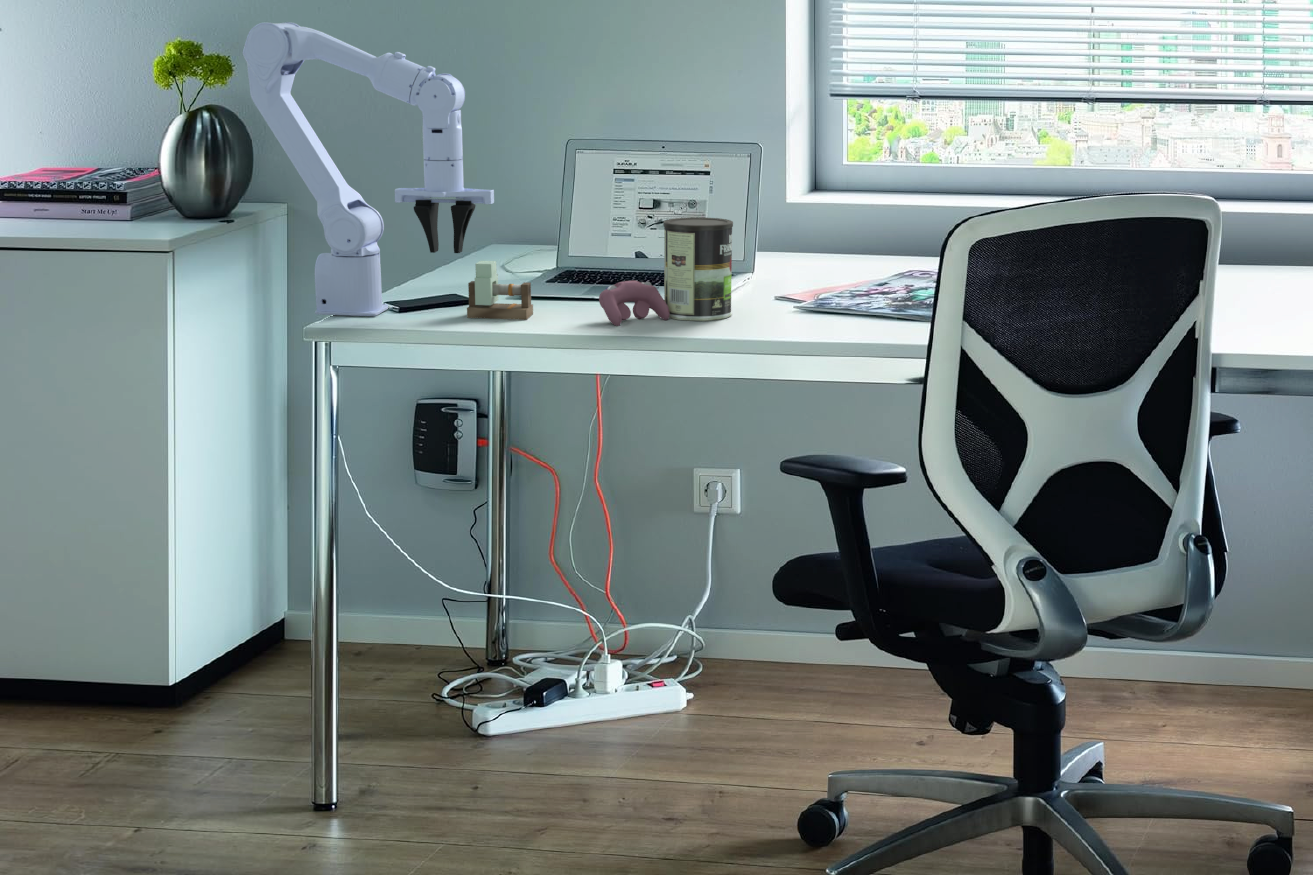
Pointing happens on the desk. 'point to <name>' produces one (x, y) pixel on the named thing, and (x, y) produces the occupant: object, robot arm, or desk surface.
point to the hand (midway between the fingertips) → (446, 252)
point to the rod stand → (502, 310)
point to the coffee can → (698, 268)
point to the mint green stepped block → (485, 282)
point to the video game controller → (635, 292)
